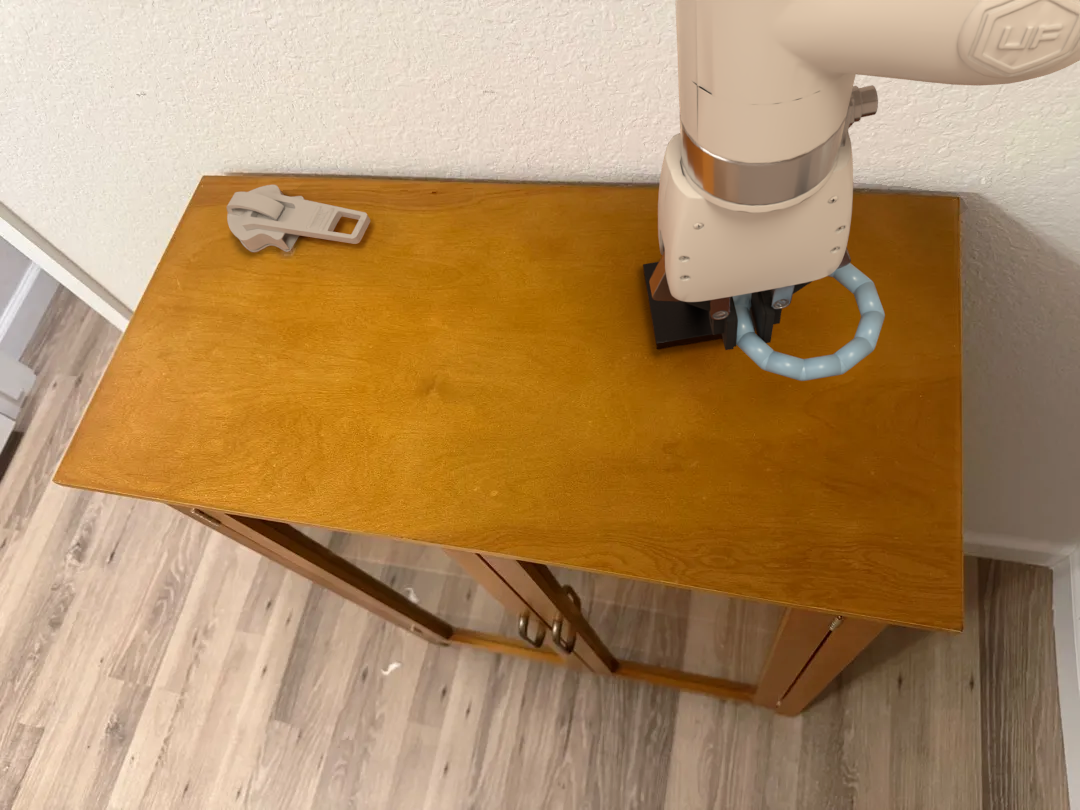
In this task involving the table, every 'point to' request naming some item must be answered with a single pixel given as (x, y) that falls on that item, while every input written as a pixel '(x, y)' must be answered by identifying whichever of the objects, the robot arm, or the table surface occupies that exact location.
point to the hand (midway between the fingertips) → (743, 327)
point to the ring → (824, 364)
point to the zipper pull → (286, 219)
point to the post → (678, 319)
